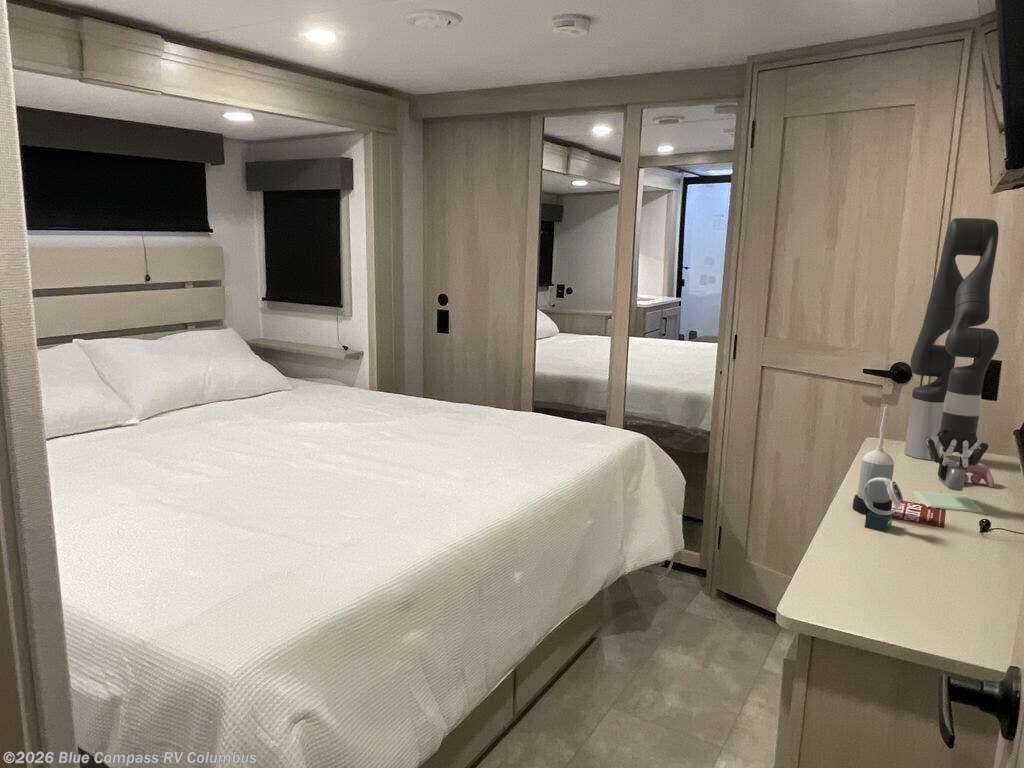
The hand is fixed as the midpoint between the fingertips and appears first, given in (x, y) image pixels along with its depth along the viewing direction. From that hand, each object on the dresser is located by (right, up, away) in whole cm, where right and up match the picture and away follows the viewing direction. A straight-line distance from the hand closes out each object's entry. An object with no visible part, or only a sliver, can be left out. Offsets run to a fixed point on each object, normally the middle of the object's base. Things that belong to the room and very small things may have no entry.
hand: (950, 479), depth 179 cm
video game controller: (+15, -3, +16) cm, 22 cm away
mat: (0, -6, +1) cm, 6 cm away
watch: (-25, -8, -15) cm, 31 cm away
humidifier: (-22, -7, -6) cm, 24 cm away
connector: (0, -1, +1) cm, 1 cm away
